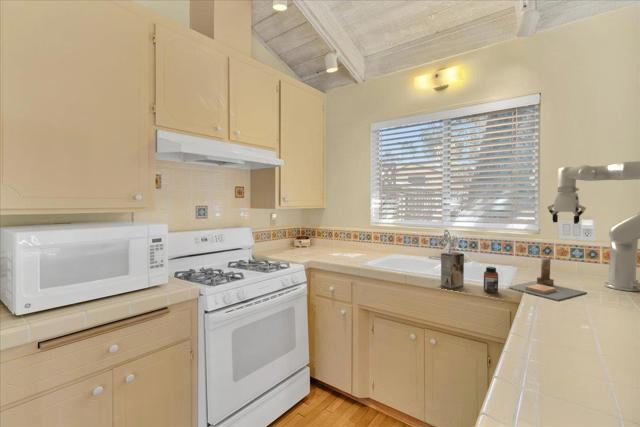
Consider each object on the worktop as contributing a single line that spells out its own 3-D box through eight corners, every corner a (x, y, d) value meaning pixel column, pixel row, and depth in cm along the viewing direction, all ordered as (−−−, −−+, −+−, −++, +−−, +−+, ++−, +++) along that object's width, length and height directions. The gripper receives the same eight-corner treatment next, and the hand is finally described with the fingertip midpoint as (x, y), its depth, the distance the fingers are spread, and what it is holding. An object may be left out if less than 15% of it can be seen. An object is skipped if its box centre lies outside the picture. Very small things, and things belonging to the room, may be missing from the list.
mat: (586, 293, 146) (586, 292, 146) (557, 301, 135) (557, 299, 135) (535, 282, 166) (535, 281, 166) (506, 288, 155) (506, 286, 155)
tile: (556, 288, 147) (543, 290, 143) (556, 291, 147) (543, 294, 143) (537, 283, 154) (525, 286, 150) (537, 287, 154) (525, 289, 150)
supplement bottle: (486, 288, 153) (486, 265, 153) (499, 291, 149) (500, 267, 149) (481, 291, 149) (482, 267, 149) (495, 294, 145) (496, 269, 145)
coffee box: (453, 283, 164) (453, 251, 163) (463, 286, 158) (464, 253, 157) (440, 285, 160) (440, 253, 159) (450, 288, 154) (451, 255, 153)
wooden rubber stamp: (553, 285, 157) (554, 259, 156) (549, 286, 155) (550, 259, 155) (540, 282, 162) (541, 257, 162) (536, 283, 161) (537, 257, 160)
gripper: (589, 190, 164) (588, 223, 165) (552, 191, 179) (551, 221, 180) (582, 190, 160) (581, 224, 161) (544, 190, 176) (543, 222, 176)
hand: (565, 222), depth 171 cm, fingers open, 9 cm apart
